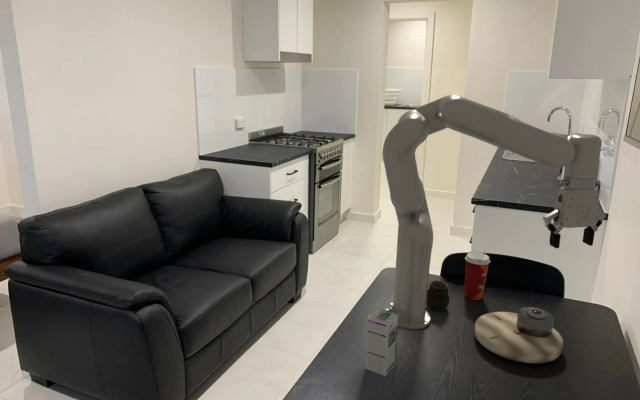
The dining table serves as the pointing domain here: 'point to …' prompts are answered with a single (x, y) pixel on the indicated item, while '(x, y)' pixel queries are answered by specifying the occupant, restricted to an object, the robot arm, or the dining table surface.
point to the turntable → (515, 339)
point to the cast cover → (535, 322)
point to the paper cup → (475, 274)
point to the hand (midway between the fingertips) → (570, 245)
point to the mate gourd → (437, 295)
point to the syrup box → (381, 341)
